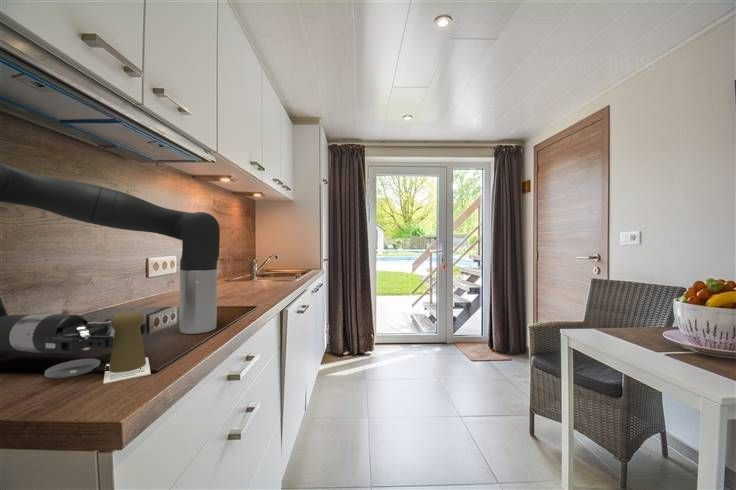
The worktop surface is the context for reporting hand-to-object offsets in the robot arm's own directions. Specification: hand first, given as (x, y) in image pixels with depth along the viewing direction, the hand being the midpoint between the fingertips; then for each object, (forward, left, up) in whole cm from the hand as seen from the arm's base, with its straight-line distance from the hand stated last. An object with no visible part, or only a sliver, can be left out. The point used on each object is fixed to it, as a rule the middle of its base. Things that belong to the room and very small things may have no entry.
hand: (129, 335), depth 64 cm
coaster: (-5, -9, -7) cm, 12 cm away
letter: (+1, 0, -7) cm, 7 cm away
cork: (0, 0, -7) cm, 7 cm away
